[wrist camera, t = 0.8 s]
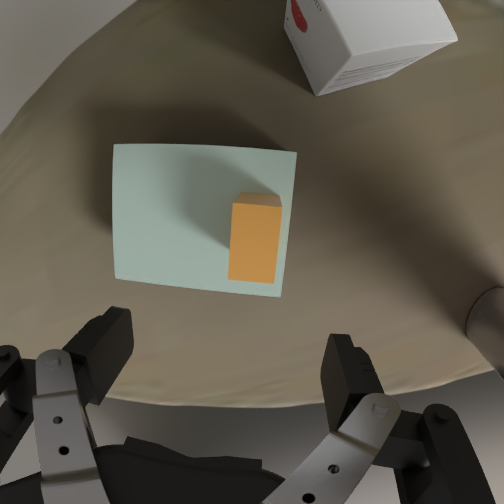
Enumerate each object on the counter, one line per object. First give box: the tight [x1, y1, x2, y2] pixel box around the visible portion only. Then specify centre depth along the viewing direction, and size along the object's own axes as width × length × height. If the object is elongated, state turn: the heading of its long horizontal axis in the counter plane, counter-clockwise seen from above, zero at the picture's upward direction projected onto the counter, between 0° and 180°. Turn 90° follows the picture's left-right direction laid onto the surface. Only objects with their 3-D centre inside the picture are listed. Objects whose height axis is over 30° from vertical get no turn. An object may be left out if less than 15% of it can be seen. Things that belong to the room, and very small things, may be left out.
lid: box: [112, 144, 297, 297], centre depth 24 cm, size 15×12×8 cm
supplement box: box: [284, 0, 458, 96], centre depth 20 cm, size 9×9×15 cm
